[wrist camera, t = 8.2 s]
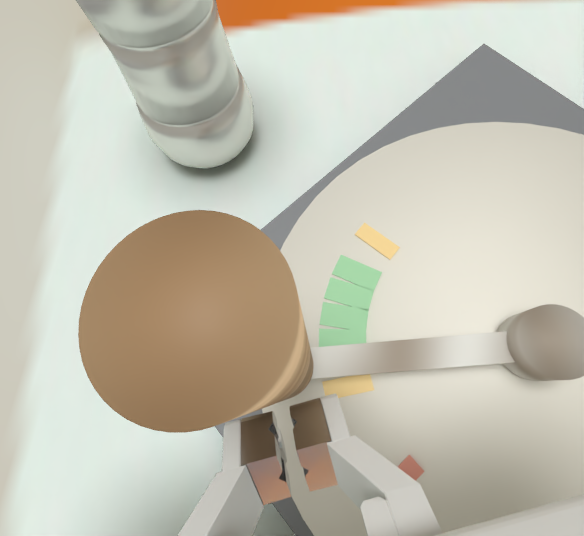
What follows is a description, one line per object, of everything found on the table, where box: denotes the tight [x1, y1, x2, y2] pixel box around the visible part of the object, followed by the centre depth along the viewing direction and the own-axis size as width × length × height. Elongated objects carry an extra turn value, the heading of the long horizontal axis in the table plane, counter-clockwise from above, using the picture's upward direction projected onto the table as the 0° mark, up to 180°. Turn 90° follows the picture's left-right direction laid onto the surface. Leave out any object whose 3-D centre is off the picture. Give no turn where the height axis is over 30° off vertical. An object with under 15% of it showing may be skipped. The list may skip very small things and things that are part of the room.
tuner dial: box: [215, 44, 584, 536], centre depth 19 cm, size 28×28×2 cm
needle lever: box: [78, 210, 584, 432], centre depth 11 cm, size 15×3×14 cm, turn 94°
